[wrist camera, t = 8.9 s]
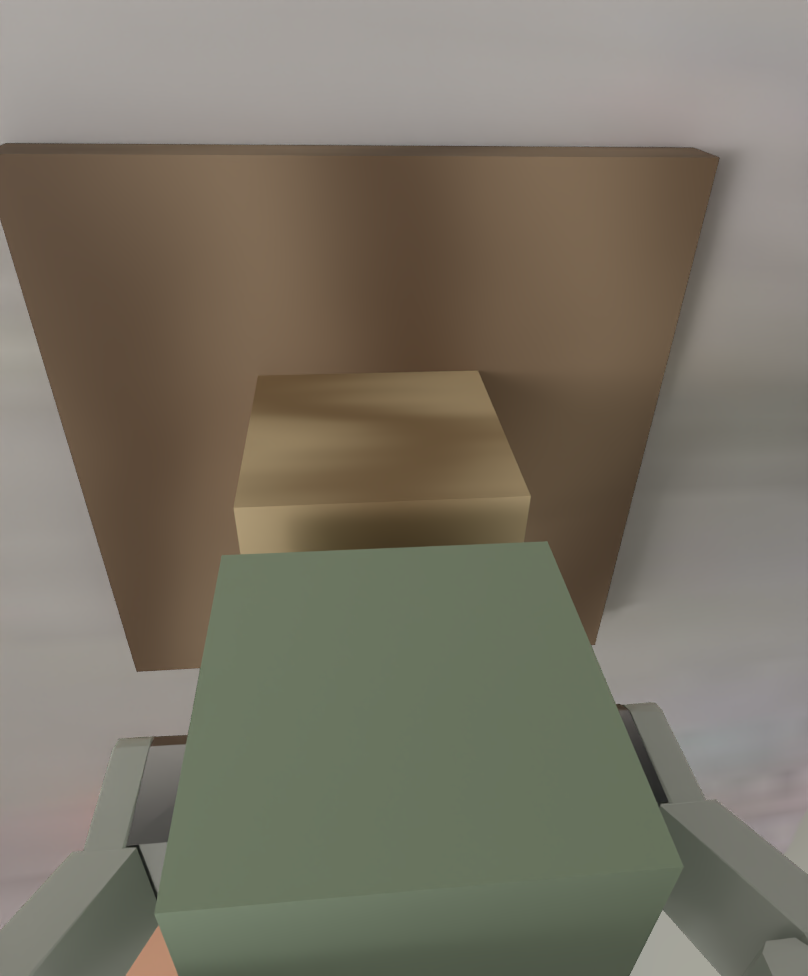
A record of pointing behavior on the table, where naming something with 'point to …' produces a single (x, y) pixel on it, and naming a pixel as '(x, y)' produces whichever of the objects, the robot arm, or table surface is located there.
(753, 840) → the robot arm
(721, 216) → the table surface
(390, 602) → the sage block
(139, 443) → the walnut board
